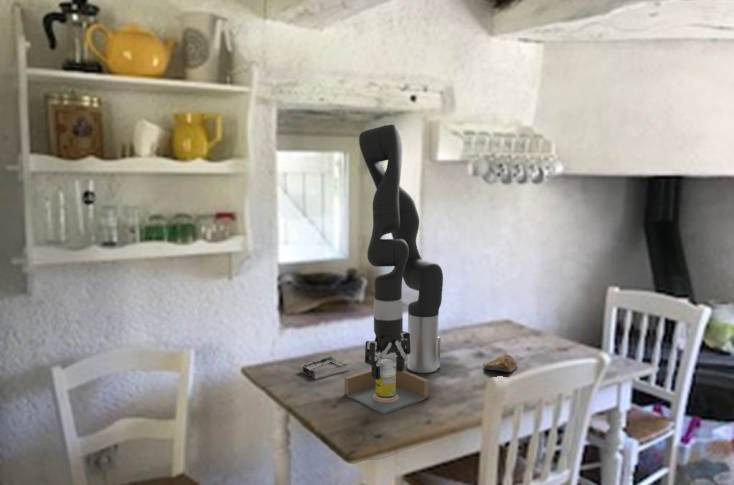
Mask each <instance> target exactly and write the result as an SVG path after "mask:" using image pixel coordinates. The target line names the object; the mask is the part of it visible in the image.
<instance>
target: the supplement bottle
mask: <svg viewBox="0 0 734 485" xmlns="http://www.w3.org/2000/svg"><path fill="white" fill-rule="evenodd" d="M379 366H380V379H379V380H376V397H377V398H378V399H380V400H392V399H394V398H395V397H396V371H395V369H394V368H393V366H394V361H393V360H392V359H388V358H384V359H382V361H381V363H380V365H379Z"/></svg>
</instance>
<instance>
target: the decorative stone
mask: <svg viewBox="0 0 734 485" xmlns="http://www.w3.org/2000/svg"><path fill="white" fill-rule="evenodd" d="M482 367H484V368H485V369H486V370H489V371H497V372H498V371H499V372H503V373H512V372H515V371H516V370H517V362H516V360H515V359H514V357H513V356H512V355H510V354H508V353H507V352H504V353H503V354H502V355H500V356H498V357H496V358H494V359H491V360H488V361H485V362H483V363H482Z"/></svg>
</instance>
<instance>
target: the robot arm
mask: <svg viewBox="0 0 734 485" xmlns="http://www.w3.org/2000/svg"><path fill="white" fill-rule="evenodd" d="M358 142H359V143H358V144H359V148H360V152H361V154H362V157H363V160H364V162H365V164H366V166H367V169H368V171H369V174H370V176H371V178H372V181H373V183H374V185H375V188H376V191H375V193H374V195H373V201H372V223H373V224H372V232H371V237H370V241H369V244H368V247H367V253H366V254H367V257H366V258H367V260H368V263H369V264H370V265H371V266H373V267H377V268H378V267H379V268H380V267H381V268H382V267H394V268H393V269H392V270H391V271H390V272H388V273H384V274H381V275H378V276H376V277H375V279H374V302H373V333H374V334H375V338H374V340H372V341H369V340H366V341H365V344H364V345H365V352H364V353H365V354H364V364H367V365H369V366H371V369H372V377H373V378H374V379H376V380H379V379H380V366H379V365H380V363H381V361H382V359H386V356H387V355H390V354H395V355H396V356H395V360H396V361H395V367H396V370H397V371H400V372H402V371H405V359H406V357H407V369H408V370H409V371H411V372H413V373H417V374H418V373H419V374H429V373H433V372H436V371H437V370H438V369H439V368H440V367H441V337H440V336H439V320H440V319H439V315H440V312H439V311H440V307H441V305H442V302H443V301H442V298H443V286H444V274H443V270H442V267H441V266H440V265H439V264H438V263H436V262H433V261H429V260H423V259H422V257H421V254H420V253H419V249H418V246H417V236H418V232H419V227H420V216H419V212H418V210H417V207H416V206H417V205H416V204H415V200H414V198H413V197H412V195H411V194H410V193H409V192H408V191H407V190H406V188H404V187H403V186H401V175H402V164H403V152H404V149H403V146H404V145H403V138H402V134H401V132H400V130H399V128H398V127H397V125H395V124H387V125H382V126H379V127H375V128H370V129H367V130H363V131H362V132H360V134H359V138H358ZM385 161H387V165H386V168H385V166H384V164H383V162H385ZM388 234H391V236H392V238H387V239H386V238H385V239H384V238H382V237H383V236H385V235H388ZM403 281H404V283H405V285H406V286H407V288H409V289H411V290H413V291H417V292H418V299H417V300H415V301H411V302H410V303H409V304H408V306H407V310H408V311H407V312H408V313H407V331H404V329H403V328H404V323H403V322H404V321H403V320H404V318H403V316H404V315H403V314H404V310H403V309H404V308H403V306H404V305H403V299H402V295H403V294H402V292H403V290H402V287H403ZM400 341H401V345H400Z"/></svg>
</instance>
